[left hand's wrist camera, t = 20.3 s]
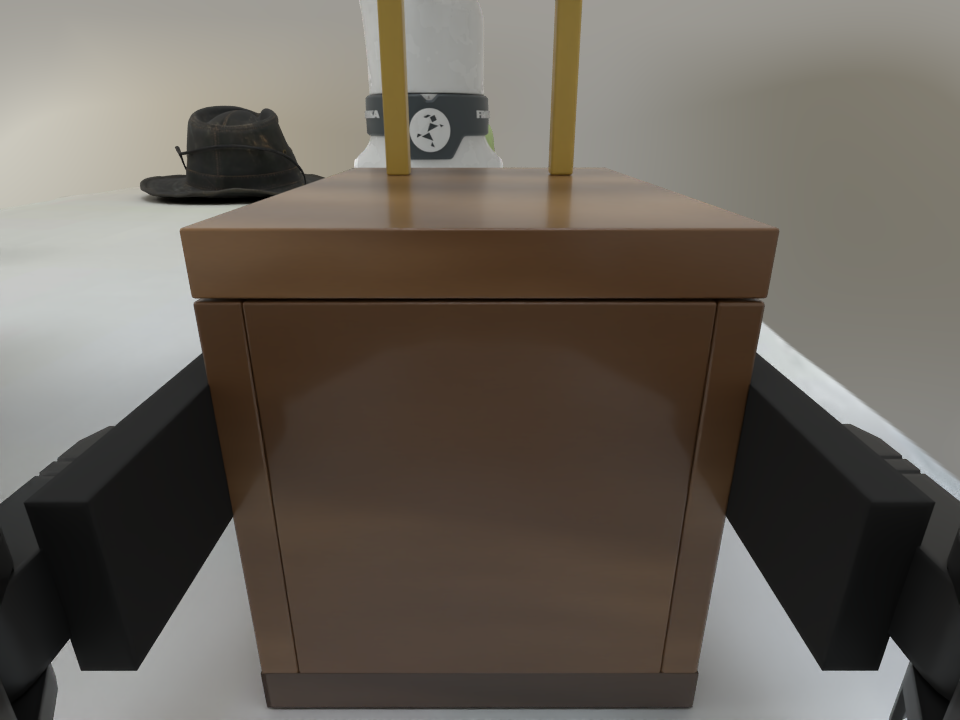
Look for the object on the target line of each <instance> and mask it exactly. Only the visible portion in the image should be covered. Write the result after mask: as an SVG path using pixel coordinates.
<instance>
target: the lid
mask: <svg viewBox="0 0 960 720" xmlns="http://www.w3.org/2000/svg"><path fill="white" fill-rule="evenodd" d="M377 10H378V28H379V46H380V64H381V82H382V100H383V118H384V135H385V153H386V168H352V169H349V170H347V171H344V172H341V173H338V174H335V175H332V176H329V177H327V178H324V179H321V180H318V181H315V182H312V183H309V184H306V185H304V186H301V187H298V188H295V189H292V190H289V191H286V192H284V193H281V194H278V195H275V196H272V197H269V198H266V199H263V200H261V201H258V202H255V203H252V204H249V205H246V206H243V207H241V208H238V209H235V210H232V211H229V212H226V213H223V214H221V215H218V216H215V217H212V218H209V219H206V220H203V221H200V222H198V223H195V224H192V225H189V226H186V227H183V228H181V229H180V235H181V241H182V246H183V251H184V257H185V262H186V267H187V273H188V278H189V284H190V289H191V294H192V297H193V298H766V297H767V295H768V289H769V284H770V278H771V273H772V268H773V262H774V257H775V251H776V246H777V241H778V235H779V229H778V228H776V227H773V226H770V225H767V224H764V223H762V222H759V221H756V220H753V219H750V218H747V217H744V216H742V215H738V214H736V213H733V212H730V211H727V210H724V209H722V208H719V207H716V206H713V205H710V204H707V203H704V202H702V201H699V200H696V199H693V198H690V197H687V196H684V195H682V194H679V193H676V192H673V191H670V190H667V189H664V188H662V187H659V186H656V185H653V184H650V183H647V182H644V181H641V180H639V179H636V178H633V177H630V176H627V175H624V174H621V173H619V172H616V171H613V170H610V169H607V168H573V158H574V140H575V122H576V104H577V86H578V68H579V50H580V32H581V14H582V0H555V23H554V48H553V72H552V97H551V121H550V146H549V168H411V158H410V134H409V109H408V85H407V61H406V37H405V12H404V0H377Z"/></svg>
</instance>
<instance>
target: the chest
mask: <svg viewBox="0 0 960 720" xmlns="http://www.w3.org/2000/svg"><path fill="white" fill-rule="evenodd" d="M764 307H765V305H764V302H763V301H761V300H759V299H758V298H200V299H199V300H197V301H196V302H194V310H195V315H196V321H197V326H198V331H199V337H200V342H201V348H202V353H203V358H204V364H205V369H206V374H207V380H208V384H209V388H210V393H211V398H212V404H213V409H214V414H215V420H216V425H217V431H218V436H219V441H220V447H221V452H222V457H223V463H224V468H225V473H226V479H227V484H228V490H229V495H230V500H231V506H232V511H233V519H234V524H235V530H236V535H237V540H238V546H239V551H240V556H241V562H242V567H243V572H244V578H245V583H246V589H247V594H248V599H249V605H250V610H251V615H252V621H253V626H254V631H255V637H256V642H257V647H258V653H259V658H260V663H261V669H262V672H261V677H262V682H263V687H264V693H265V698H266V703H267V707H692V705H693V700H694V694H695V689H696V684H697V678H698V671H697V668H698V662H699V657H700V652H701V646H702V641H703V636H704V630H705V625H706V619H707V614H708V609H709V603H710V598H711V592H712V587H713V582H714V576H715V571H716V566H717V560H718V555H719V549H720V544H721V539H722V533H723V528H724V522H725V517H726V511H727V506H728V500H729V495H730V489H731V484H732V479H733V473H734V468H735V462H736V457H737V452H738V446H739V441H740V435H741V430H742V425H743V419H744V414H745V409H746V403H747V398H748V392H749V387H750V382H751V377H752V372H753V366H754V361H755V355H756V350H757V345H758V339H759V334H760V329H761V323H762V318H763V312H764Z"/></svg>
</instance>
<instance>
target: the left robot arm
mask: <svg viewBox="0 0 960 720" xmlns="http://www.w3.org/2000/svg"><path fill="white" fill-rule="evenodd" d="M232 517H233V511H232V506H231V500H230V495H229V490H228V484H227V479H226V473H225V468H224V463H223V457H222V452H221V447H220V441H219V436H218V431H217V425H216V420H215V414H214V409H213V404H212V398H211V393H210V388H209V384H208V380H207V374H206V369H205V364H204V358H203V353H202V354H201V355H199V356H198V357H197V358H196V359H195V360H193V361H192V362H191V363H190V364H189V365H187V366H186V367H185V368H184V369H183V370H181V371H180V372H179V373H178V374H177V375H175V376H174V377H173V378H172V379H171V380H169V381H168V382H167V383H166V384H165V385H163V386H162V387H161V388H160V389H159V390H158V391H156V392H155V393H154V394H153V395H152V396H150V397H149V398H148V399H147V400H146V401H144V402H143V403H142V404H141V405H140V406H138V407H137V408H136V409H135V410H134V411H132V412H131V413H130V414H129V415H128V416H126V417H125V418H124V419H123V420H122V421H120V422H119V423H118V424H117V425H116V426H109V427H107V428H105V429H103V430H101V431H99V432H96V433H94V434H92V435H90V436H88V437H86V438H84V439H82V440H80V441H78V442H77V443H76V444H75V445H73V446H72V447H71V448H70V449H68V450H67V451H66V452H65V453H63V454H62V455H61V456H60V457H58V461H57V462H52V463H51V464H50V465H48V466H47V467H46V468H45V469H43V470H42V471H41V472H40V475H39V476H35V477H33V478H32V479H31V480H30V481H28V482H27V483H26V484H25V485H23V486H22V487H21V488H20V489H18V490H17V491H16V492H15V493H13V494H12V495H11V496H10V497H8V498H7V499H6V500H5V501H3V502H2V503H1V504H0V720H53V717H54V710H55V704H56V697H57V691H58V687H57V681H56V676H55V673H54V671H53V668H52V665H51V662H52V660H53V659H54V658H55V657H56V655H57V654H58V653H59V652H60V650H61V649H62V648H63V647H64V645H65V644H66V643H67V641H68V640H69V639H70V640H71V643H72V646H73V648H74V651H75V654H76V657H77V660H78V663H79V666H80V669H81V671H137V670H138V668H139V667H140V665H141V663H142V662H143V660H144V659H145V657H146V655H147V654H148V652H149V651H150V649H151V647H152V646H153V644H154V642H155V641H156V639H157V638H158V636H159V634H160V633H161V631H162V630H163V628H164V626H165V625H166V623H167V622H168V620H169V618H170V617H171V615H172V614H173V612H174V610H175V609H176V607H177V606H178V604H179V602H180V601H181V599H182V598H183V596H184V594H185V593H186V591H187V590H188V588H189V586H190V585H191V583H192V582H193V580H194V578H195V577H196V575H197V574H198V572H199V570H200V569H201V567H202V565H203V564H204V562H205V561H206V559H207V557H208V556H209V554H210V553H211V551H212V549H213V548H214V546H215V545H216V543H217V541H218V540H219V538H220V537H221V535H222V533H223V532H224V530H225V529H226V527H227V525H228V524H229V522H230V521H231V519H232ZM726 517H727V518H728V520H729V522H730V523H731V525H732V526H733V528H734V530H735V531H736V533H737V535H738V536H739V538H740V539H741V541H742V543H743V544H744V546H745V547H746V549H747V551H748V552H749V554H750V555H751V557H752V559H753V560H754V562H755V563H756V565H757V567H758V568H759V570H760V571H761V573H762V575H763V576H764V578H765V579H766V581H767V583H768V584H769V586H770V587H771V589H772V591H773V592H774V594H775V595H776V597H777V599H778V600H779V602H780V604H781V605H782V607H783V608H784V610H785V612H786V613H787V615H788V616H789V618H790V620H791V621H792V623H793V624H794V626H795V628H796V629H797V631H798V632H799V634H800V636H801V637H802V639H803V640H804V642H805V644H806V645H807V647H808V648H809V650H810V652H811V653H812V655H813V656H814V658H815V660H816V661H817V663H818V665H819V666H820V668H821V669H822V671H878V669H879V666H880V663H881V660H882V658H883V655H884V652H885V649H886V646H887V643H888V640H889V637H891V638H892V639H893V640H894V642H895V643H896V644H897V645H898V647H899V648H900V649H901V650H902V652H903V653H904V654H905V655H906V657H907V658H908V659H909V660H910V662H909V665H908V668H907V671H906V673H905V676H904V679H903V681H902V684H901V687H900V690H899V692H898V695H897V698H896V701H895V703H894V706H893V709H892V711H891V714H890V717H889V720H903V719H905V718H907V720H960V501H959V500H957V499H956V498H955V497H954V496H952V495H951V494H950V493H949V492H947V491H946V490H945V489H943V488H942V487H941V486H940V485H938V484H937V483H936V482H935V481H933V480H932V479H931V478H930V477H928V476H927V475H926V474H921V473H920V470H919V469H918V468H917V467H916V466H914V465H913V464H912V463H911V462H909V461H908V460H907V459H902V455H901V454H899V453H898V452H897V451H895V450H894V449H893V448H892V447H890V446H889V445H888V444H887V443H885V442H884V441H883V440H882V439H880V438H878V437H876V436H874V435H872V434H870V433H868V432H866V431H864V430H862V429H860V428H857V427H855V426H853V425H851V424H841V423H840V422H839V421H838V420H836V419H835V418H834V417H833V416H832V415H830V414H829V413H828V412H827V411H826V410H824V409H823V408H822V407H821V406H820V405H818V404H817V403H816V402H815V401H814V400H812V399H811V398H810V397H809V396H808V395H807V394H805V393H804V392H803V391H802V390H801V389H799V388H798V387H797V386H796V385H795V384H793V383H792V382H791V381H790V380H789V379H787V378H786V377H785V376H784V375H783V374H781V373H780V372H779V371H778V370H777V369H775V368H774V367H773V366H772V365H771V364H769V363H768V362H767V361H766V360H765V359H763V358H762V357H761V356H760V355H759V354H757V353H756V355H755V361H754V366H753V372H752V377H751V382H750V387H749V392H748V398H747V403H746V409H745V414H744V419H743V425H742V430H741V435H740V441H739V446H738V452H737V457H736V462H735V468H734V473H733V479H732V484H731V489H730V495H729V500H728V506H727V511H726Z"/></svg>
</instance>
